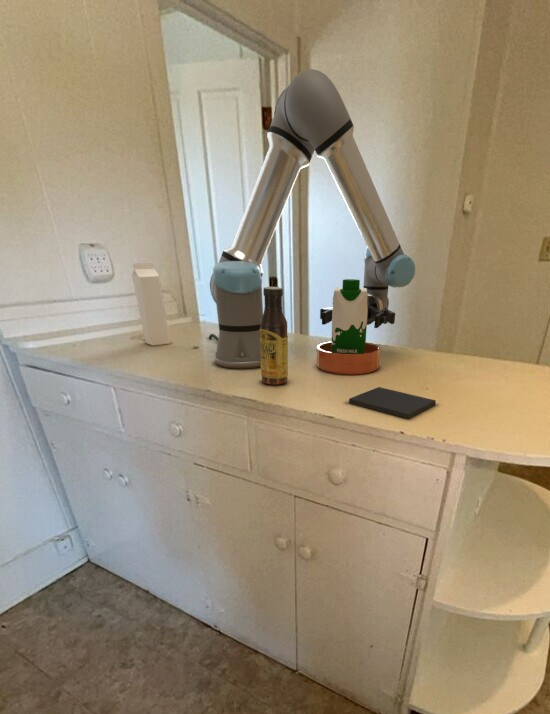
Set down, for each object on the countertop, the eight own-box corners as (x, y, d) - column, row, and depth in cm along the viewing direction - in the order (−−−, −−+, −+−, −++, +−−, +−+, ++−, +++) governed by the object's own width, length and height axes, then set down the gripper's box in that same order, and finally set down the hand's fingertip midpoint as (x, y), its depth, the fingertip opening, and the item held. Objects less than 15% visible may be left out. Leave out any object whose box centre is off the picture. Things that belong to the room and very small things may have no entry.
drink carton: (329, 369, 109) (332, 280, 98) (332, 360, 116) (334, 277, 106) (364, 370, 108) (370, 281, 97) (364, 361, 116) (369, 278, 105)
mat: (348, 403, 88) (349, 398, 87) (378, 391, 95) (378, 386, 94) (408, 419, 80) (408, 414, 80) (435, 405, 87) (436, 400, 87)
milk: (145, 342, 136) (129, 263, 124) (163, 340, 139) (149, 262, 127) (152, 346, 132) (136, 263, 120) (171, 343, 135) (157, 263, 123)
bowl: (304, 367, 112) (303, 347, 109) (342, 356, 122) (342, 338, 120) (354, 379, 103) (355, 357, 100) (390, 366, 114) (392, 346, 111)
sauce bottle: (256, 382, 100) (249, 287, 89) (275, 377, 104) (271, 285, 93) (274, 388, 96) (270, 289, 85) (294, 382, 100) (292, 287, 89)
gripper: (409, 326, 122) (397, 340, 105) (326, 320, 128) (302, 333, 111) (412, 297, 118) (401, 306, 101) (326, 293, 124) (302, 301, 107)
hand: (349, 320), depth 106 cm, fingers open, 13 cm apart
